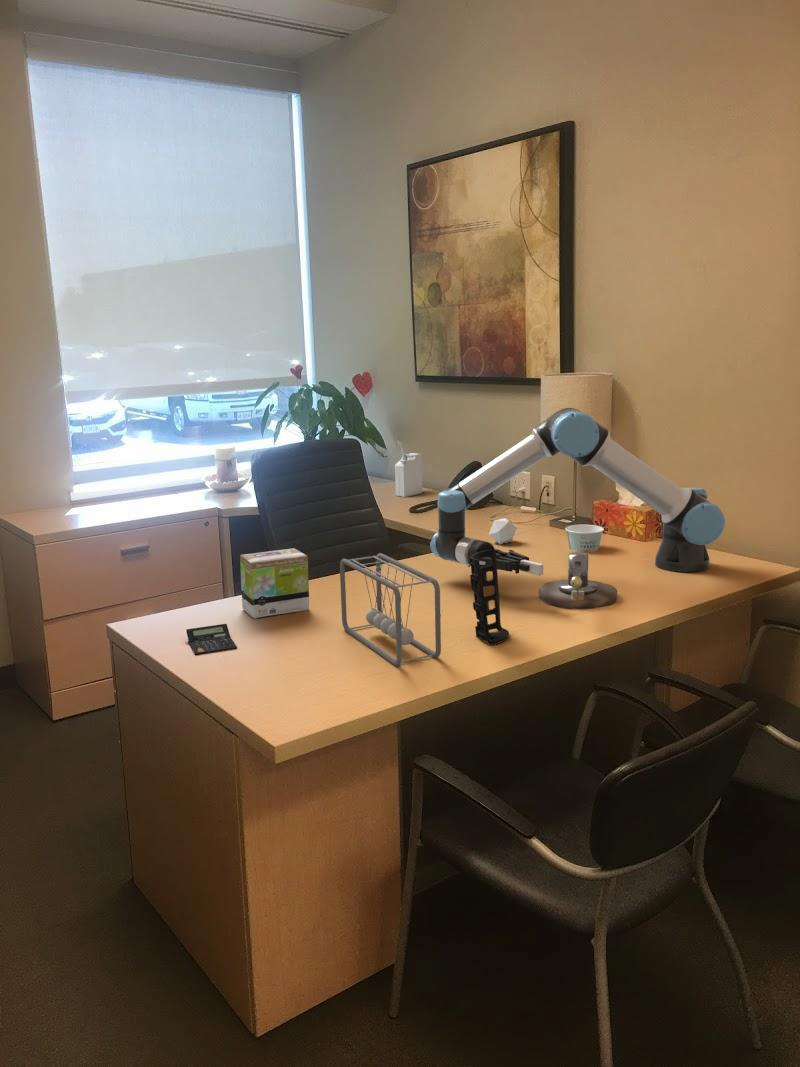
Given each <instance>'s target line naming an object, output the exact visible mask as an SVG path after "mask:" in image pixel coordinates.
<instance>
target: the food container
mask: <svg viewBox="0 0 800 1067" xmlns="http://www.w3.org/2000/svg"><path fill="white" fill-rule="evenodd" d="M564 529H565V530H566V533H567V541H568V548H569V549H570V550H571V549H572V550H571V551H573V550H577V551H576V552H579V551H592V552H596V551H595V550H597V551H599V550H598V549H600V545H601V541H602V536H603V532H604V530H605V528H604V527H603V526H600V525H593V524H573V525H568V526H566V527H565V528H564Z"/></svg>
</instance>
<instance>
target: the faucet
mask: <svg viewBox="0 0 800 1067" xmlns="http://www.w3.org/2000/svg"><path fill="white" fill-rule="evenodd" d="M567 566H568V567H567V568H568V570H567V571H568V572H567V573H568V574H567V575H568V579H564V580H565V581H561V582H560V583H559V584H558V589H559V590H560V591H563V592H566V593H571V591H574V590H576V591H577V594H578V591H584V594H588V593H593V592H595V591H597V588H598V585H597V584H596V583H594V582H592V581H593V580H591V581H588V580H589V554H588V552H579V551H573V552H569V553H568V565H567Z"/></svg>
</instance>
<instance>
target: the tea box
mask: <svg viewBox="0 0 800 1067" xmlns="http://www.w3.org/2000/svg"><path fill="white" fill-rule="evenodd" d="M239 559H240V560H239V561H240V562H239V563H240V565H239V566H240V586H241V587H240V588H241V606H242V609H243V610H244V611H245V612H246V613H247V614H248V615H249V616H250V617H251V618H253V619H259V618H263V617H269V616H276V615H284V614H290V613H297V612H304V611H309V610H310V588H309V586H310V584H309V582H310V581H309V559H308V555H306V554H305V553H303V552H301V551H300V550H298V549H296V548H294V547H293V548H286V549H278V550H269V551H263V552H262V551H260V552H254V553H246V554H245V553H244V554H240V555H239Z"/></svg>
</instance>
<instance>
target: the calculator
mask: <svg viewBox="0 0 800 1067" xmlns="http://www.w3.org/2000/svg"><path fill="white" fill-rule="evenodd" d="M185 631H186V635H187V641H188V644H189V646H190V648H191V650H192V652H193V654H194V655H195V656H199V655H206V654H213V653H219V652H224V651H225V652H226V651H233V650H237V649H238V646H237V644H236V643H235V641H234V640H233V638H232V637H231V633H230V631H229V627H228V624H227V623H220V624H215V625H208V626H199V627H193V628H188V629H186V630H185Z"/></svg>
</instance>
